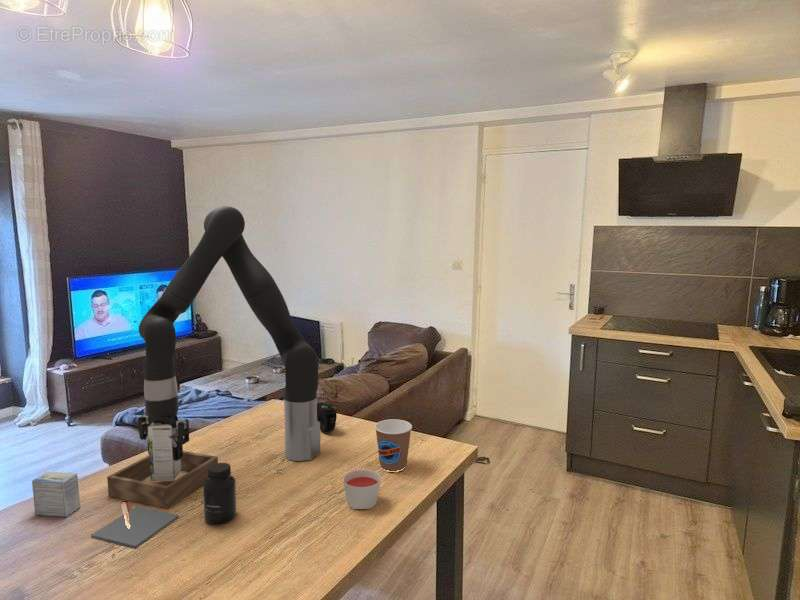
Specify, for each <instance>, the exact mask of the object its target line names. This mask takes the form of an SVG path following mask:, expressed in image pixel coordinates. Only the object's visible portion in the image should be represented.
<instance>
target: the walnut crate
mask: <svg viewBox="0 0 800 600" xmlns="http://www.w3.org/2000/svg"><path fill="white" fill-rule="evenodd" d="M216 463H219V458H218V456H215V455H210V454H204V453H197V452H192V451H185V450H183V456H182V458H181V467H182V469H181V471H186V472H187V473H185V474H184V475H181V476H180V477H179V478H176V479H174V480H173V481H172V482H171V483H169V484H167V485H163V484H158V483H154V482H148V481H143V480H144V479H146V478H148V477H149V476H150V458H149V454H148V455H146V456H145V457H142V458H141V459H139V460H136V461H135V462H133V463H131V464H129V465H127V466H126V467H123V468H122V469H119V470H118V471H116V472H113V473H111V474H110V475H108V476H106V477H107V493H108V495H107V496H108V497H110V498H116V499H119V498H120V499H121V500H125V501H128V502H133V503H139V504H143V505H148V506H153V507H156V508H162V509H167V510H168V509H170V508H172V506H175V504H177V503H179V502H180V501H181V500H183V499H185V498H186V497H188V496H189V495H191V494H192V493H193V492H195V491H196V490H198V489H199V488H201V487H202V486H204V482H205V480H206V479H207V478H208V468H209V467H210V466H211V465H213V464H216Z"/></svg>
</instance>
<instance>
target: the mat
mask: <svg viewBox="0 0 800 600" xmlns="http://www.w3.org/2000/svg"><path fill="white" fill-rule="evenodd" d="M128 511H129V521H130V525H131V527H130V529H128V528H127V526H126V525H125V519H124V514H122V515H120V516H119V517H117V518H115V519H114V520H112V521H111V522H109V523H108V524H106V525H104V526H103V527H101V528H99V529H98V530H97V531H95V532H92V534H90V537H91V538H93V539H98V540H103V541H106V542H110V543H113V544H118V545H121V546H126V547H129V548H134V549H136V548H138V547H139V546H141V545H143V543H145V542H146V541H148V540H149V539H150V538H152V537H153V536H155V535H156V534H158V533H159V532H160V531H162V530H163V529H165V528H166V527H167V526H169V525H170V524H171V523H173V522H174V521H175V520H176V521H177V519H178V518H179V517H180V516H179V514H175V513H170V512H167V511H162V510H157V509H152V508H147V507H142V506H138V505H137V506H135V507H134V508H132V509H130V510H128Z"/></svg>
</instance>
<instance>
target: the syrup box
mask: <svg viewBox="0 0 800 600" xmlns="http://www.w3.org/2000/svg"><path fill="white" fill-rule="evenodd" d="M178 419H179V420H180V417H178ZM174 433H176V428H175V427H173V428H172V426H171V425H168V424H164V425H161V423H155V424H150V425H149V426H148V439H149V453H148V455H149V458H150V475H149V476H150V482H159V481H160V482H162V481H175V480H176V479H177V476H178V475H179V474H180V472H182V470H181V469H182V467H181V459H179V460H178V461H175V460H174V459H173V447H174V446H173V445H172V438H169V435H170V436H172V435H173V434H174ZM175 439H176V441H178V440H177V438H176V437H175Z"/></svg>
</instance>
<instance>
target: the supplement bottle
mask: <svg viewBox="0 0 800 600" xmlns="http://www.w3.org/2000/svg"><path fill="white" fill-rule="evenodd" d="M236 489H237V488H236V478H235V477H234V476H233V475H232V469H231V464H229V463H227V462H218V463H216V464H213V465H211V466H210V467H209V468H208V478H207V479H206V480H205V482H204V485H203V516H204V517H203V518H204V521H205V522H206V523H207V524H209V525H213V526H220V525H223V524H224V525H225V524H228V523H229V522H231V521H232V520H234V519H235V517H236V514H237V490H236Z"/></svg>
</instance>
